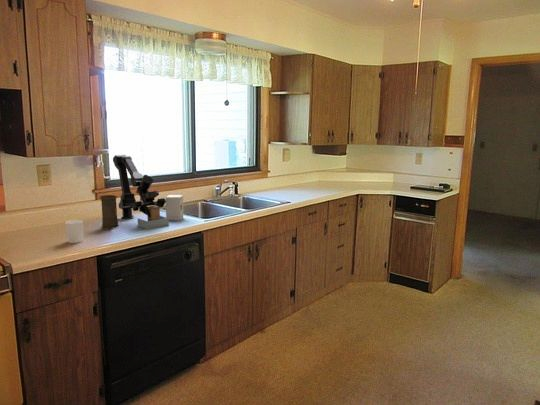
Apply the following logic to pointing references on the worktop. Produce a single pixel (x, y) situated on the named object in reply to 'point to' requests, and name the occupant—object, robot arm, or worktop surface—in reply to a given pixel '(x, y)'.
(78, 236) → the white cup
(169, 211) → the supplement box
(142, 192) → the robot arm
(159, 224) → the open box
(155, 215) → the walnut block
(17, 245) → the worktop surface
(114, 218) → the container
